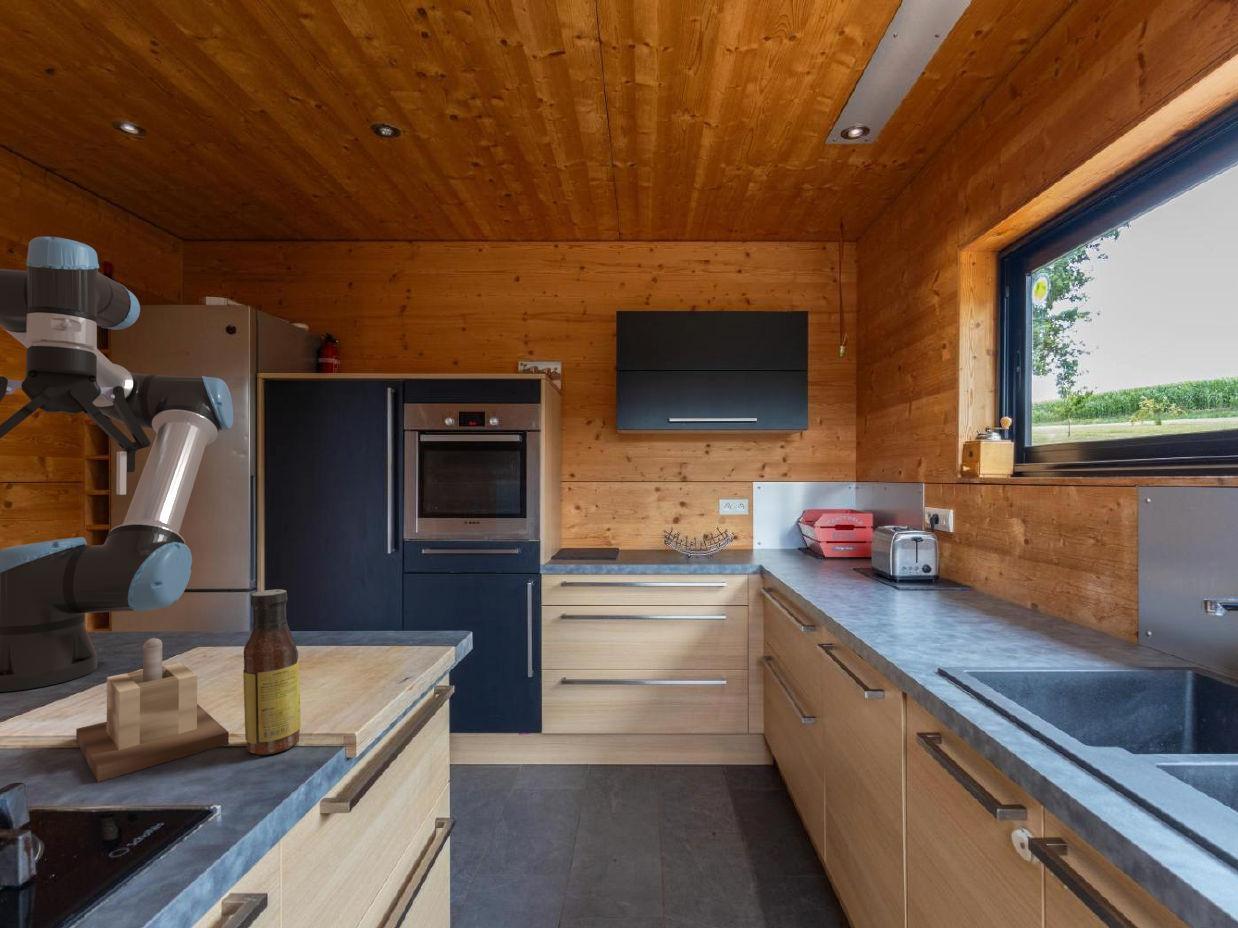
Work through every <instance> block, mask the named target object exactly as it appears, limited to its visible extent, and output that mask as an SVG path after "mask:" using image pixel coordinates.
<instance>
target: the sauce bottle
mask: <svg viewBox="0 0 1238 928" xmlns="http://www.w3.org/2000/svg"><path fill="white" fill-rule="evenodd" d="M287 602H288V591H287V590H285V589H276V588H275V589H268V590H267V589H266V590H259V591H256V592H253V593H252V594H251V595H250V605H252V614H253V615H252V616H253V617H252V618H253V620H252V621H253V622H252V631H251V634H250V637H249V638H248V640H247V642H246V644H245V646H244V648H243V664H244V665H243V666H244V667H243V670H242V671H243V674H242V675H243V702H244V704H243V705H244V706H243V708H244V731H245V732H244V733H245V736H244V737H245V739H244V740H245V741H246V750H247V752H248V753H250V754H254V755H258V756H266V755H267V756H268V755H273V754H277V753H278V754H279V753H281V752H285V751H287V750H289V749H291V748H292V747H294V746H295V745H297V744H298V742H300V731H301V727H302V725H301V724H302V722H301V721H302V720H301V718H302V716H301V715H302V714H301V713H302V712H301V689H300V687H301V686H300V684H301V683H300V660H299V651H298V648H297V646H296V643H295V641H294V638H293V635H292V632H291V629H290V626H289V624H288V620H287Z"/></svg>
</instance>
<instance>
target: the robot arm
mask: <svg viewBox="0 0 1238 928" xmlns="http://www.w3.org/2000/svg"><path fill="white" fill-rule="evenodd" d="M25 265H26V270H19V269H7V268H0V328H2V329H3V330H4V331H6V332H7V333H8V334H9V335H10V336H12V337H13V338H15V340H16V341H18V342H19V343H21V344H22V345H23V346H24V347H25V348H26V352H25V353H26V356H25V358H26V360H25V361H26V363H25V365H26V366H25V367H26V368H25V370H26V371H25V378H24V379H23V380H16V379H11V378H10V379H9V378H7V377H5V376H2V375H1V376H0V403H1V402H2V401H3V399H4V397H5V396H6V395H8V396H9V395H12V394H13V393H14V392H15V391H16V390H18V389H20V390H21V391H22V392H23V393H24V394H25V395H26V396H27V397H28V398H29V400H30V401H29V402H28V403H26V404H25V405H23V407H21V408H20V409H19V410H17V411H16V412H15V413H13V414H12V415H11V416H10V417H8V418H7V419H5V420H4V421H3V422H2V423H1V424H0V439H1V438H3V437H5V435H7V434H8V433H10V432H11V431H12V430H13V429H15V428H16V427H17V426H18V425H20V424H21V422H23V421H24V420H26V419H27V418H29V416H31V415H32V414H33V413H34V412H35V411H37V410H38V409H39V410H40V411H43V412H45V413H48V414H49V413H50V414H57V413H63V414H64V413H65V414H68V415H69V414H70V415H77V414H80V413H82V412H83V413H84V415H86V416H87V417H88V418H89V419H91V420H92V421H93V422H94V423H95V424H96V425H97V426H98V427H99V428H100V429H101V430H102V431H104V433H105V434H106V435H108V437H109V438H111V439H112V441H113V442H115V443H116V444H117V445H118V446H119V447H120V448H122V451H116V483H115V484H116V489H115V490H116V495H119V496H120V495H121V496H123V495H124V496H125V495H127V473H134V472H135V471H136V453H137V451H138V450H140V449H144V448H148V447H150V446H151V441H150V439H149V438H148V436H147V435H146V433H145V431H144V429H147V430H148V429H149V430H154V432H155V433H156V435H155V438H154V441H153V443H152V446H151V449H150V452H149V455H148V456H147V459H146V462H145V464H144V467H143V470H142V473H141V475H140V478H139V480H138V483H137V486H136V489H135V491H134V494H133V495H132V500H131V502H130V505H129V507H128V510H127V513H126V515H125V518H124V521H123V523H122V524H119V525H116V526H115V527H113V528H111V529H110V531H109V532H108V534H107V537H106V539H105V541H104V543H103V544H98V545H97V544H96V545H95V544H94V545H88V542H87V541H86V538H85V537H83V536H80V537H79V536H78V537H69V538H68V537H67V538H62V539H61V538H60V539H54V540H47V541H39V542H32V543H27V544H20V545H19V544H18V545H15V546H8V547H4V548H1V549H0V692H2V693H3V692H4V693H5V692H14V691H24V690H31V689H38V688H42V687H47V686H48V687H49V686H51V685H56V684H61V683H64V682H69V681H71V680H75V679H79V678H81V677H84V676H86V675H89V674H90V673H93V672H94V671H96V670H97V669H98V654H97V651H96V649H95V647H94V644H93V642H92V639H91V637H90V635H89V633H88V630H87V628H86V623H85V621H86V620H85V617H86V616H85V615H86V614H90V613H91V614H92V613H111V612H112V613H113V612H145V611H148V610H156V609H157V610H159V609H164V608H167V607H169V606H171V605H172V604H175V603H176V602H177V601H178V600H179V599H180V598H181V597H182V595H183V594H184V592H185V590H186V588H187V586H188V583H189V581H190V579H191V575H192V569H191V567H192V564H193V555H192V551H191V549H190V548H189V547H188V545H187V544H186V540H185V538H184V537H183V536H182V535H181V534H180V530H181V528H182V524H183V520H184V517H185V513H186V511H187V507H188V505H189V501H190V497H191V495H192V492H193V487H194V485H195V481H196V478H197V474H198V472H199V468H200V465H201V462H202V460H203V459H202V458H203V455H204V452H205V450H206V449H205V448H206V446H208V445H210V444H212V443H214V442H215V441H216V439H217V438H218V434H219V431H222V432H225V431H229V430H231V429H232V427H233V424H234V405H233V399H232V396H231V395H232V394H231V391H230V388H229V387H228V385H227V383H226V382H225V380H223V379H221V378H218V377H211V376H205V375H201V377H200V376H186V375H185V376H183V375H163V374H159V375H158V374H144V373H135V372H130V371H129V370H127V369H126V368H125V367H123V366H122V365H119V364H117V363H113V362H112V361H110V359H109V358H108V357H106V356H105V355H104V354H103V352H101V351H100V350H99V349H98V344H97V343H98V342H97V341H98V335H97V334H98V333H97V332H98V328H97V327H100V328H101V329H109V330H113V331H116V330H123V329H126V328H129V327H131V326H132V325H133V324H135V323H136V321H137V320H138V318H139V316H140V313H141V306H140V302H139V300H138V298H137V297H136V295H135V294H134V293H133V292H131V290H128V289H127V287H126V286H124V285H123V284H121V283H120V282H117V281H115V280H113V278H112V279H111V278H109V277H108V276H106V275H104V274H102V272H99V269H100V264H99V258H98V254H97V251H96V249H94V248H93V247H91V246H90V245H88V244H86V243H84V242H80V241H77V240H72V239H68V238H64V237H63V238H62V237H56V236H37V237H34V238H32V239H31V240H30V241H29V243H28V250H27V257H26V261H25ZM110 419H112V420H115V421H116V422H120V423H122V424H124V425H125V427H126V429H127V430H128V431H129V433H130V435H131V437H132V438H133V440H134V441H132V440H130V439H129V438H128V437H127V436H126V434H124V433H123V432H122V431H121V430H120V429H119V428H118V427H117V426H116V425H115V424H114V423H113V422H112V421H111V420H110Z"/></svg>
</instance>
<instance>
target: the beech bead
mask: <svg viewBox="0 0 1238 928" xmlns="http://www.w3.org/2000/svg"><path fill="white" fill-rule="evenodd" d="M197 704H198V675H197V674H196V673H195V672H194V671H192V669H189V668H188V667H187V666H186V665H185V664H183V663H182V662H178V663H172V664H167V665H162V679H158V680H153V681H148V682H144V683H143V669H142V670H136V671H132V672H126V673H121V674H115V675H111V676H107V677H106V722H107V733H108V734H109V736H110V737H111V739H112V740H113V742H114V743H115V745H116V746H117V748H118V749H119V750H121V749H124V748H128V747H132V746H136V745H139V744H143V743H147V742H150V741H154V740H158V739H162V738H165V737H169V736H173V735H176V734H180V733H184V732H188V731H191V730H195V729H197Z"/></svg>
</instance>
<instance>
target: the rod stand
mask: <svg viewBox="0 0 1238 928" xmlns="http://www.w3.org/2000/svg"><path fill="white" fill-rule="evenodd" d="M162 666H163V642H162V640H161V639H160V638H155V637H151V638H149V639H147V640H146V641H145V642H144V643H143V646H142V670H143V683H144V682H148V681H153V680H158V679H162ZM75 731H76V732H75V733H76V736H75V737H76V738H75V739H77V741H76V742H77V744H78V747H79V748H80V750H81V752H82V754H83V756H84V758H85V760H86V762H87V764H88V766H89V768H90V769H91V771H92V774H93V776H94V778H95V780H97V783H100V782H103V781H106V780H109V779H113V778H117V777H119V776H122V775H127V774H130V773H133V772H137V771H141V770H143V769H148V768H150V767H153V766H157V765H160V764H161V765H162V764H163V763H164V764H165V763H167V762H171V761H174V760H177V759H181V758H185V757H188V756H191V755H195V754H197V753H203V752H205V751H209V750H212V749H215V748H219V747H222V746H226V745H229V735H230V734H229V733H230V732H229V730H227V729H226V728H225V727H224V726H223V725H222V724H220V723H219V722H218V721H216V719H215V718H214V717H212V715H210V714H209V713H208V712H207V711H206V710H205V709H204V708H202V707H201V706H200V705H199V704H198V703H197V729H195V730H191V731H188V732H184V733H180V734H176V735H173V736H169V737H165V738H162V739H158V740H154V741H150V742H147V743H143V744H139V745H136V746H132V747H128V748H124V749H121V750H119V749H118V748H117V746H116V745H115V743H114V742H113V740H112V739H111V737H110V736H109V734H108V733H107V721H102V722H99V723H94V724H90V725H87V726H82V727H78V728H76V730H75Z"/></svg>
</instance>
